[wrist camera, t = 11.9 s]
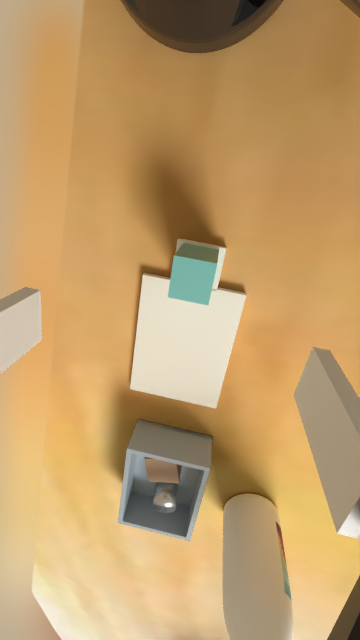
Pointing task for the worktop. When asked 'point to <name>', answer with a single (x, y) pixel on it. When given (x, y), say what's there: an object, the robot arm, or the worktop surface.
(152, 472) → the walnut part
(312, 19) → the worktop surface
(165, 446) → the tub
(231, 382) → the worktop surface
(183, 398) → the lid
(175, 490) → the metal part
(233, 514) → the milk bottle
